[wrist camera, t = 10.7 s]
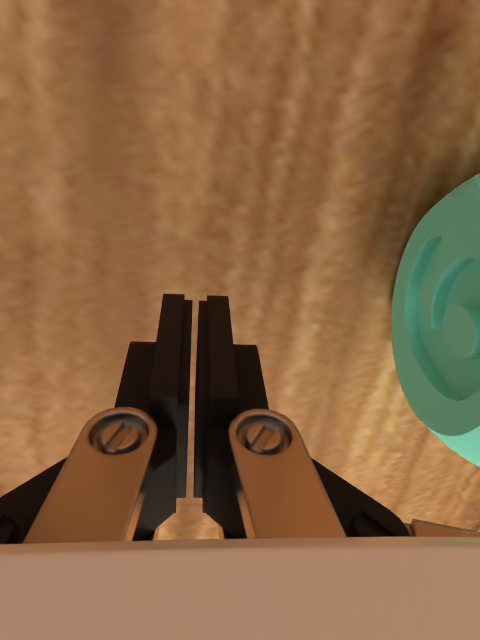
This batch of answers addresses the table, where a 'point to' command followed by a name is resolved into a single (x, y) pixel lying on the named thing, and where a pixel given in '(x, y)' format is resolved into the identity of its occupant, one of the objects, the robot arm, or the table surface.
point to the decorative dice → (442, 320)
